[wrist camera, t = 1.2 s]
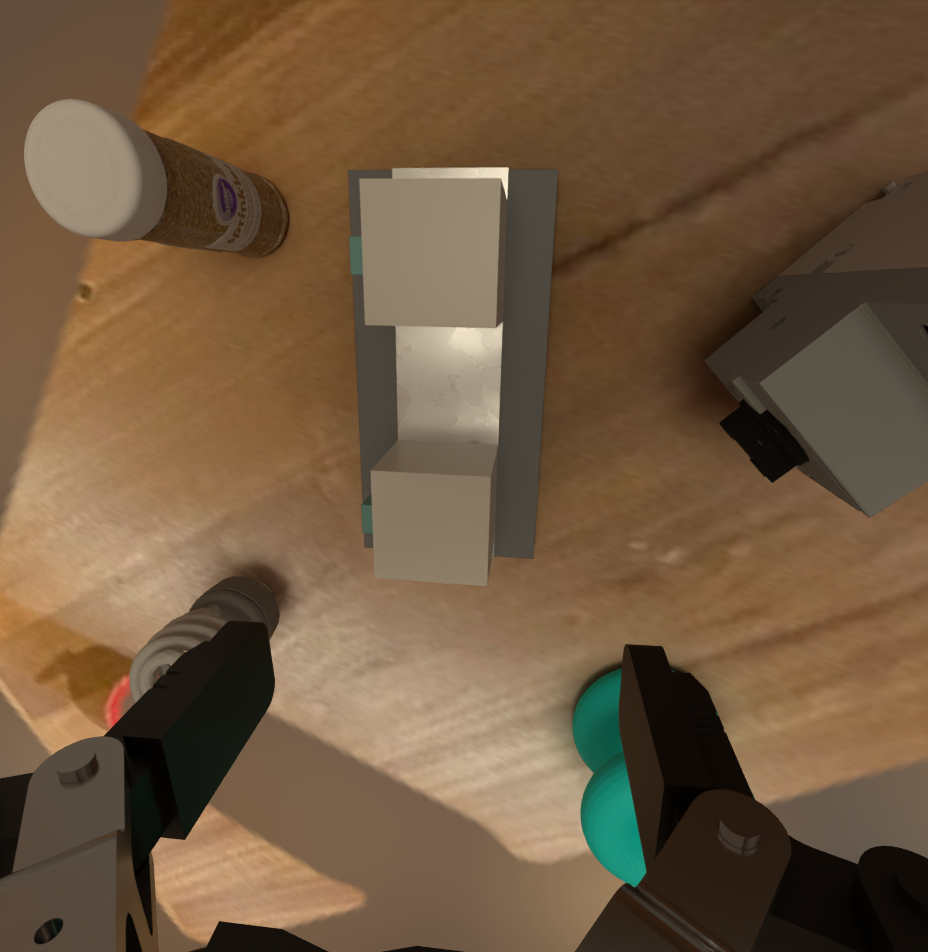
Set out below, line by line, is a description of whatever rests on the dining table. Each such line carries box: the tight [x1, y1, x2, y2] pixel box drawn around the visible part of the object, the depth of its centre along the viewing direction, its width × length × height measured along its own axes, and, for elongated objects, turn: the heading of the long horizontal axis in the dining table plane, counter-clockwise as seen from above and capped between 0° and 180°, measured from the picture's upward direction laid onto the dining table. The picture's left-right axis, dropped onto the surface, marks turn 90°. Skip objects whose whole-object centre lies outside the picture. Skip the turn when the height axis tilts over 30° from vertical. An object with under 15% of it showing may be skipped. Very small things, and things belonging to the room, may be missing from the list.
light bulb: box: [130, 576, 280, 702], centre depth 35 cm, size 6×6×12 cm
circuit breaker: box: [704, 171, 928, 517], centre depth 24 cm, size 8×14×15 cm, turn 134°
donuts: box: [573, 668, 755, 887], centre depth 36 cm, size 10×10×10 cm
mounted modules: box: [349, 178, 507, 586], centre depth 29 cm, size 19×7×6 cm, turn 179°
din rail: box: [392, 168, 509, 560], centre depth 32 cm, size 22×6×1 cm, turn 179°
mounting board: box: [348, 169, 558, 559], centre depth 33 cm, size 22×11×2 cm, turn 179°
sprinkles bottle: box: [24, 99, 288, 257], centre depth 26 cm, size 5×5×13 cm
